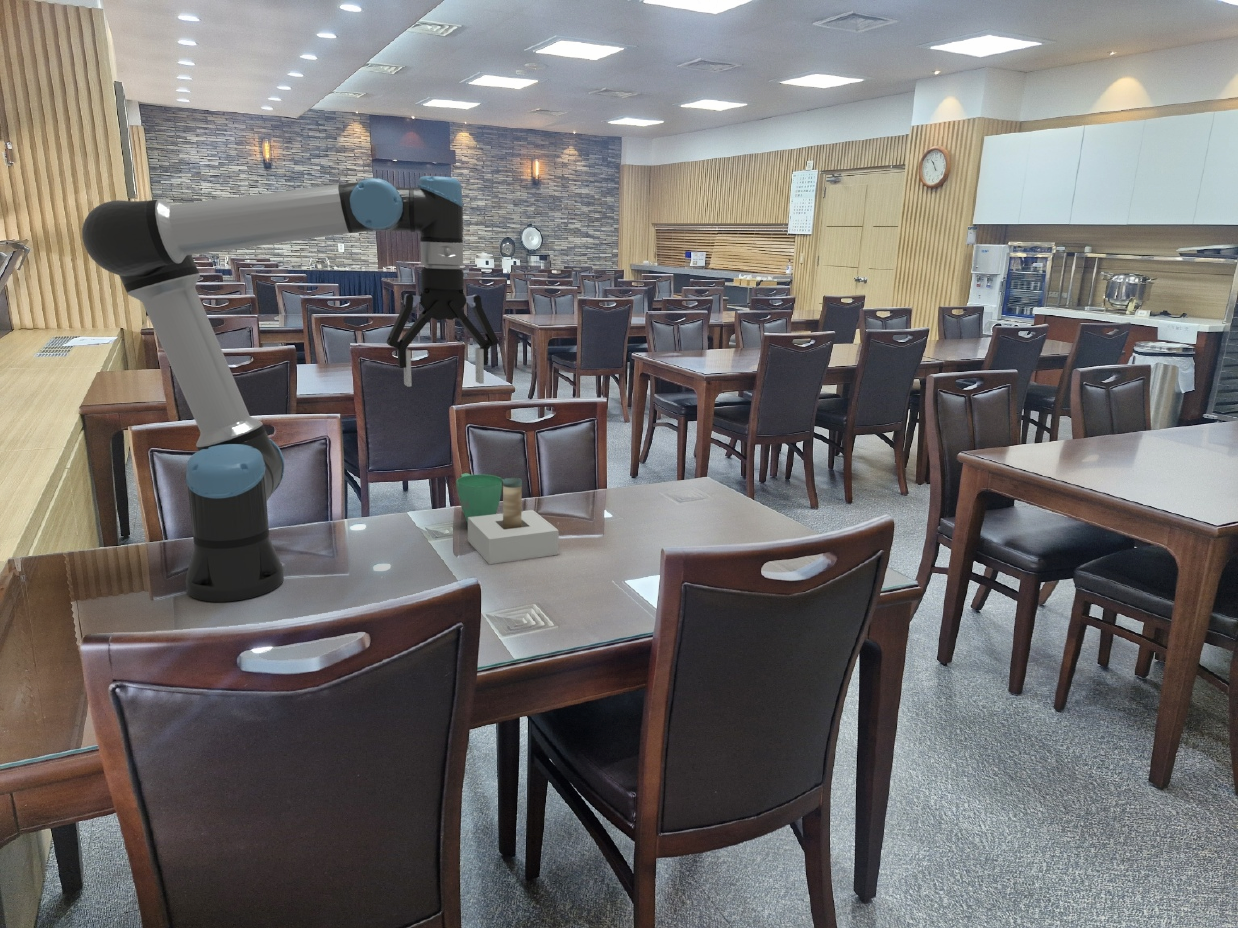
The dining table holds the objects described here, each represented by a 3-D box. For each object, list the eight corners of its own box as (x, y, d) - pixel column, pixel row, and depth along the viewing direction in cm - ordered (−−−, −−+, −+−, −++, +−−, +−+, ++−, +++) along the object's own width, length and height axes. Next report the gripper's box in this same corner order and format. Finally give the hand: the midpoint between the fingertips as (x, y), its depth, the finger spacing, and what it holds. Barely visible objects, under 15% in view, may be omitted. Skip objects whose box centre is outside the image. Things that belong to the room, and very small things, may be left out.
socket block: (489, 564, 153) (489, 539, 151) (467, 540, 165) (467, 517, 163) (558, 554, 159) (558, 530, 158) (532, 532, 171) (532, 509, 170)
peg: (506, 551, 159) (506, 483, 156) (500, 545, 162) (500, 478, 159) (524, 549, 161) (524, 481, 157) (517, 543, 164) (518, 476, 161)
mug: (510, 528, 173) (510, 483, 171) (467, 535, 168) (466, 489, 165) (483, 509, 185) (483, 467, 182) (442, 515, 180) (441, 472, 177)
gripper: (375, 266, 138) (380, 389, 143) (514, 269, 149) (514, 384, 154) (367, 265, 144) (372, 383, 150) (501, 268, 155) (501, 378, 161)
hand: (444, 384), depth 152 cm, fingers open, 13 cm apart
